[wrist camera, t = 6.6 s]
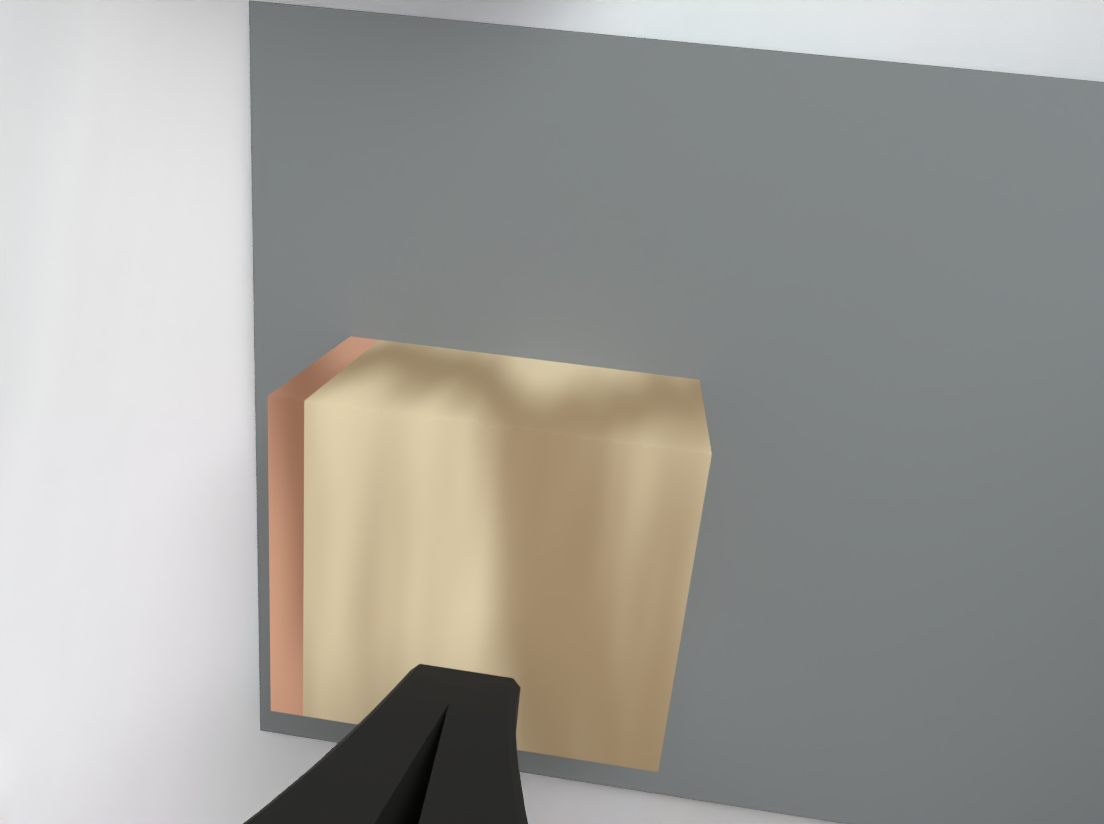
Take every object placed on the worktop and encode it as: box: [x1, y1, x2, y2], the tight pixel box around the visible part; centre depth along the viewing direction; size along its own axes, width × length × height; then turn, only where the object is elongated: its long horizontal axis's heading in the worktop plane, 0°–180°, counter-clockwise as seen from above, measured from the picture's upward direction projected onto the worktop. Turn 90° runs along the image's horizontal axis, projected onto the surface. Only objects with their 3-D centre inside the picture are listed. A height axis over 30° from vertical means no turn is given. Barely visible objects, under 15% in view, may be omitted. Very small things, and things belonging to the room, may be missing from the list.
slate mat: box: [249, 1, 1104, 824], centre depth 18 cm, size 20×16×1 cm
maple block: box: [268, 336, 712, 772], centre depth 17 cm, size 4×6×7 cm
